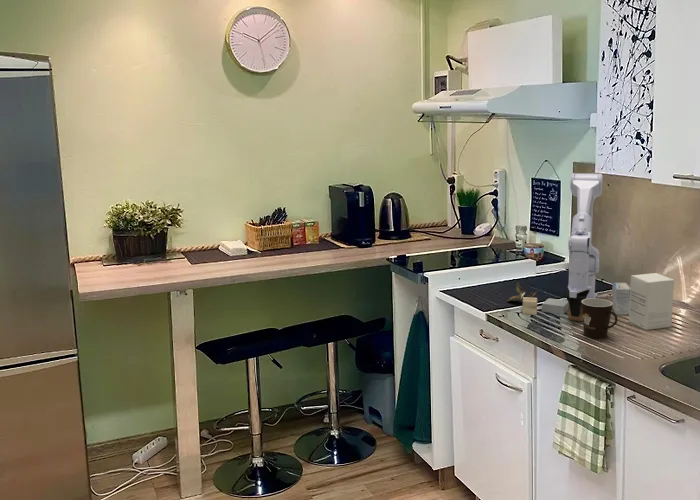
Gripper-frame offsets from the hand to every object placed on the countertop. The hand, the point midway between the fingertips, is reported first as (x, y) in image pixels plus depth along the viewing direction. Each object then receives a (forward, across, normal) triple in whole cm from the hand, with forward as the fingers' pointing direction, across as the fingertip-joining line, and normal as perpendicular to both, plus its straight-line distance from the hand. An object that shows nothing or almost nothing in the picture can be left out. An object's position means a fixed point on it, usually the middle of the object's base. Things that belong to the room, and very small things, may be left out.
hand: (576, 313), depth 222 cm
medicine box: (+2, +13, -11) cm, 17 cm away
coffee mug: (+2, -15, -9) cm, 18 cm away
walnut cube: (+1, 0, 0) cm, 1 cm away
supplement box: (+2, +3, -21) cm, 21 cm away
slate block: (+2, +6, +8) cm, 10 cm away
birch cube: (+2, 0, +15) cm, 15 cm away
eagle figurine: (+2, +9, +21) cm, 23 cm away
